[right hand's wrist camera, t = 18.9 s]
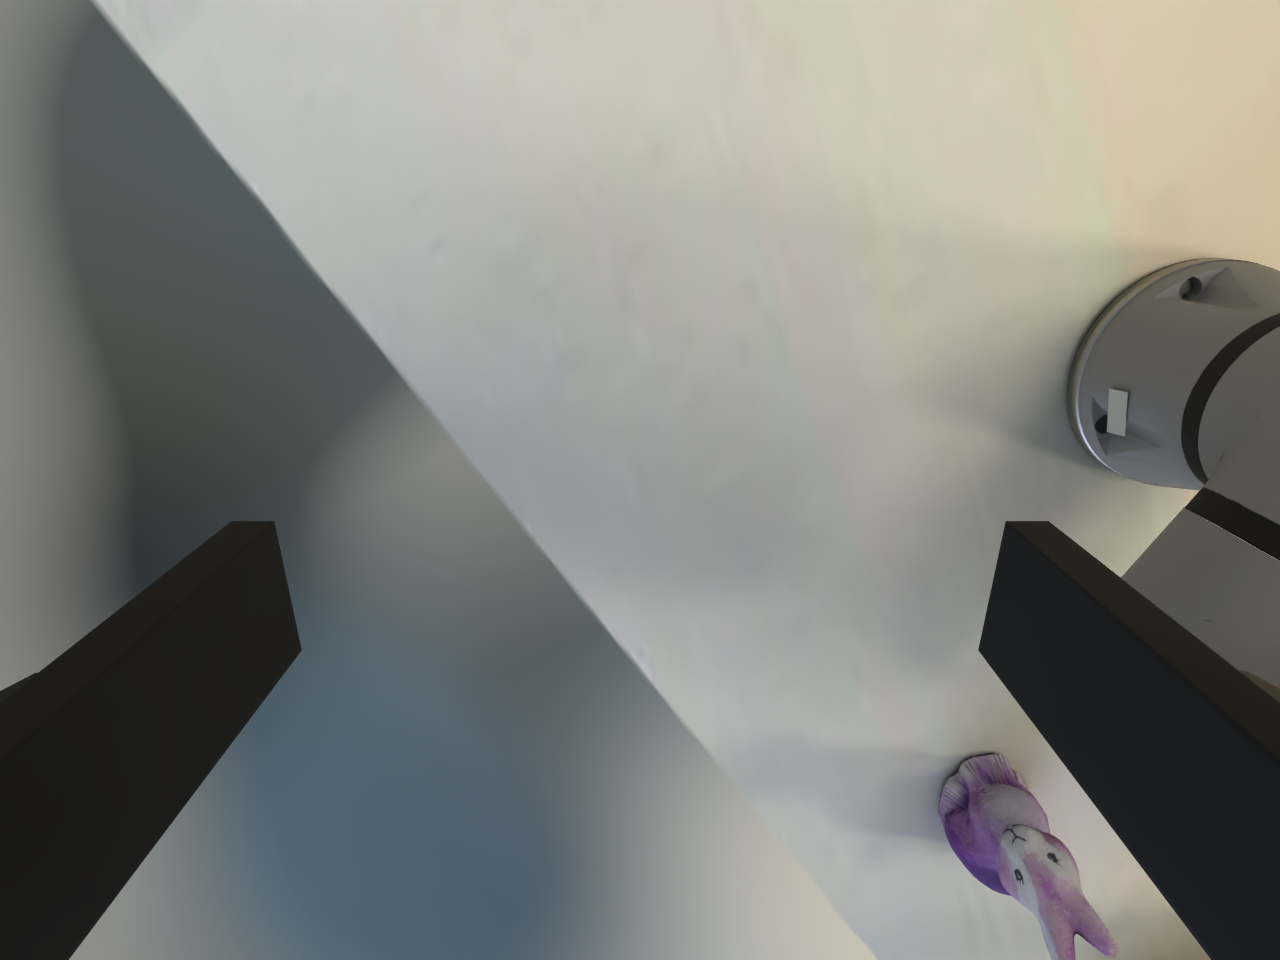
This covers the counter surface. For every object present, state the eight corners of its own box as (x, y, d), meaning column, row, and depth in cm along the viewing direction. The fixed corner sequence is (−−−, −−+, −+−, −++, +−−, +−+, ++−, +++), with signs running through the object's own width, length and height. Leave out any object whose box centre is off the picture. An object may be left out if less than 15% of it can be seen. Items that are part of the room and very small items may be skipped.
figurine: (971, 733, 60) (1072, 895, 46) (1058, 783, 62) (1179, 952, 48) (898, 803, 63) (973, 975, 49) (983, 849, 65) (1078, 1027, 51)
